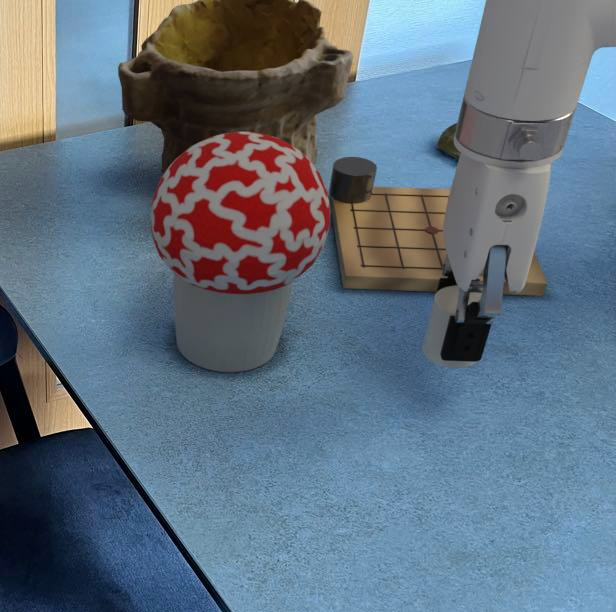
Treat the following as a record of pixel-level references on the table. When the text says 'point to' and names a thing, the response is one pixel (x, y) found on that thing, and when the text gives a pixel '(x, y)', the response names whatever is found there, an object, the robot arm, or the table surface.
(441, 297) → the beige cylinder
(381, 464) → the table surface
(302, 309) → the table surface
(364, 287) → the board
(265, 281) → the decorative object
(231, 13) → the ceramic vessel
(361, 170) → the black stone
